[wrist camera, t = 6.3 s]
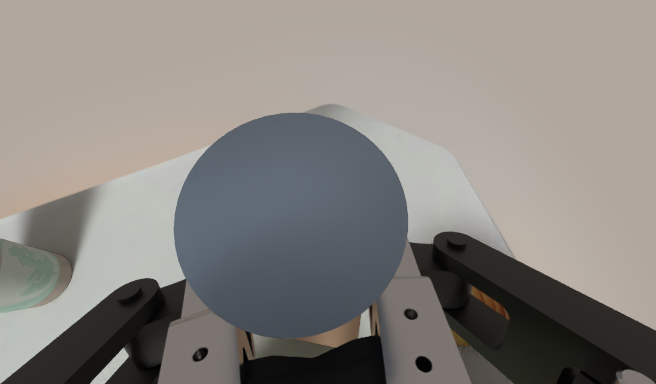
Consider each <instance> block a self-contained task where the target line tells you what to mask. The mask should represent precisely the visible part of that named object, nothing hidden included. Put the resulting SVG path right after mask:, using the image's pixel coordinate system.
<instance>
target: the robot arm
mask: <svg viewBox="0 0 656 384" xmlns="http://www.w3.org/2000/svg"><path fill="white" fill-rule="evenodd" d="M473 286H474V287H475V288H477V289H478V290H480V291H481V292H483V293H484V294H486V295H487V296H489V297H490V298H492V299H493V300H495V301H496V302H498V303H499V304H500V305H501V306H503V307H504V309H505V310H506V311H507V313H508V315H509V319H510V321H509V320H508V319H507V318H505V317H504V316H502V315H501V314H499V313H498V312H496V311H495V310H494V309H492V308H491V307H489V306H488V305H486V304H485V303H484V302H482V301H481V300H479V299H478V298H476V297H475V296H473V295H472V294H471V291H472V287H473ZM369 318H370V329H371V336H369V337H364V338H359V339H354V340H351V341H349V342H347V343H344V344H342V345H340V346H338V347H336V348H334V349H332V350H330V351H328V352H326V353H324V354H322V355H320V356H317V357H314V358H303V357H287V356H268V357H263V358H258V359H256V355H255V348H254V341H253V334H252V333H250V332H247V331H244V330H242V329H240V328H238V327H236V326H233V325H231V324H229V323H228V322H226V321H225V320H223V319H222V318H220V317H219V316H217V315H216V314H215V313H213V312H212V311H211V310H210V309H209V308H208V307H207V306H206V305H205V304H204V303H203V302H202V301H201V300H200V299H199V297H198V296H197V295H196V294H195V292H194V291H193V290H192V288H191V286H190V285H189V283H188V281H187V279H184V280H182V281H179V282H177V283H174V284H171V285H168V286H166V287H163V288H160V287H159V284H158V282H157V281H156V280H154V279H150V278H145V279H139V280H135V281H132V282H130V283H128V284H125V285H123V286H122V287H120V288H118V289H117V290H115V291H114V292H112V293H111V294H110V295H109V296H108V297H106V298H105V299H104V300H103V301H101V302H100V303H99V304H98V305H96V306H95V307H94V308H93V309H92V310H90V311H89V312H88V313H87V314H85V315H84V316H83V317H82V318H81V319H79V320H78V321H77V322H76V323H74V324H73V325H72V326H71V327H70V328H68V329H67V330H66V331H65V332H63V333H62V334H61V335H60V336H59V337H57V338H56V339H55V340H54V341H52V342H51V343H50V344H49V345H48V346H46V347H45V348H44V349H43V350H41V351H40V352H39V353H38V354H37V355H35V356H34V357H33V358H32V359H30V360H29V361H28V362H27V363H26V364H24V365H23V366H22V367H21V368H19V369H18V370H17V371H16V372H14V373H13V374H12V375H11V376H10V377H8V378H7V379H6V380H5V381H3V382H2V383H1V384H90V383H91V382H92V380H93V379H94V378H95V377H96V376H97V375H98V374H99V373H100V372H101V371H102V370H103V369H104V368H105V367H106V365H107V364H108V363H109V362H110V361H111V360H112V359H113V358H114V357H115V356H116V355H117V354H118V353H119V352H120V351H121V350H122V349H123V347H124V348H125V350H126V352H127V353H128V355H129V357H128V358H127V360H126V361H125V362H124V363H123V364H122V365H121V366H120V367H119V369H118V370H117V371H116V372H115V373H114V374H113V375H112V376H111V377H110V379H109V380H108V381H107V382H106V383H105V384H472V383H471V380H470V378H469V375H468V373H467V370H466V368H465V365H464V363H463V360H462V358H461V355H460V353H459V350H458V347H457V345H456V342H455V340H454V337H453V335H452V332H451V330H450V328H451V329H452V330H453V331H454V332H455V333H457V334H458V335H459V336H460V337H461V338H462V339H464V340H465V341H466V342H467V343H468V344H469V345H470V346H472V347H473V348H474V349H475V350H476V351H477V352H479V353H480V354H481V355H482V356H483V357H484V358H485V359H487V360H488V361H489V362H490V363H491V364H492V365H494V366H495V367H496V368H497V369H498V370H499V371H500V372H502V373H503V374H504V375H505V376H506V377H507V378H509V379H510V380H511V381H512V382H513V383H514V384H656V331H655V330H653V329H651V328H650V327H647V326H645V325H643V324H642V323H640V322H638V321H635V320H634V319H632V318H630V317H628V316H626V315H624V314H622V313H620V312H618V311H616V310H614V309H612V308H610V307H608V306H606V305H604V304H602V303H600V302H598V301H596V300H594V299H592V298H590V297H588V296H586V295H584V294H582V293H580V292H578V291H576V290H574V289H572V288H570V287H569V286H567V285H565V284H562V283H561V282H559V281H557V280H555V279H553V278H551V277H549V276H547V275H545V274H543V273H541V272H539V271H537V270H535V269H533V268H531V267H529V266H527V265H525V264H523V263H521V262H519V261H517V260H515V259H513V258H511V257H509V256H507V255H505V254H503V253H501V252H499V251H497V250H495V249H493V248H491V247H489V246H487V245H486V244H484V243H482V242H480V241H478V240H476V239H474V238H472V237H470V236H467V235H465V234H462V233H457V232H443V233H440V234H438V235H436V236H435V238H434V241H433V244H419V243H411V242H409V241H408V238H407V240H406V246H405V249H404V253H403V256H402V260H401V262H400V264H399V267H398V269H397V271H396V273H395V275H394V277H393V278H392V280H391V282H390V283H389V285H388V287H387V288H386V289H385V291H384V292H383V293H382V294H381V295H380V297H379V298H378V299H377V300H376V301H375V302H374V303H373V304H372V305H371V306H370V307H369Z"/></svg>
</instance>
